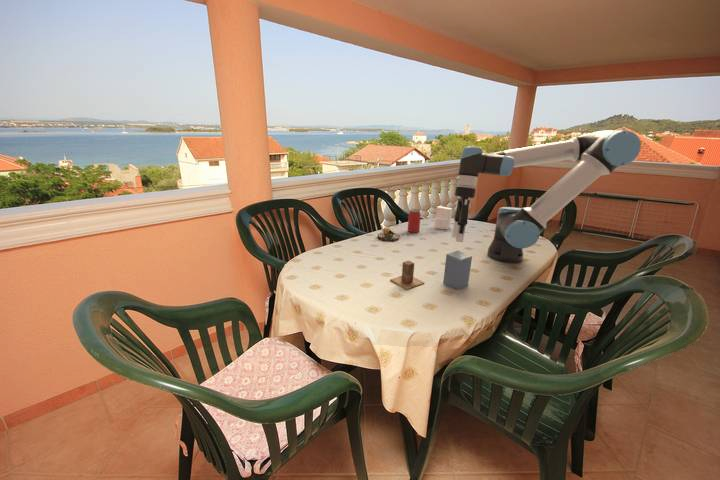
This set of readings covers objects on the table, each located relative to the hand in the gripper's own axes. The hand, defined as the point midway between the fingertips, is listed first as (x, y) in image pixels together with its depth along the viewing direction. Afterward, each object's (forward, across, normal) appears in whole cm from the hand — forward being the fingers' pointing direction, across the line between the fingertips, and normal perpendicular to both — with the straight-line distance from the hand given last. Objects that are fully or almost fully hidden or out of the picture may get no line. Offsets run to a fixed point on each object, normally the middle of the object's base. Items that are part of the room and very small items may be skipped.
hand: (457, 239), depth 130 cm
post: (+17, +16, -18) cm, 29 cm away
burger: (+9, -34, -30) cm, 46 cm away
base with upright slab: (+2, -61, -1) cm, 61 cm away
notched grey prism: (+15, +14, 0) cm, 20 cm away
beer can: (+5, -49, -18) cm, 52 cm away
